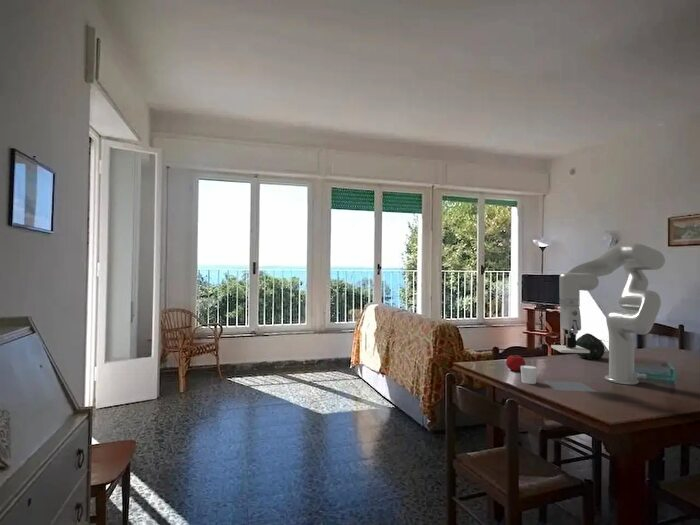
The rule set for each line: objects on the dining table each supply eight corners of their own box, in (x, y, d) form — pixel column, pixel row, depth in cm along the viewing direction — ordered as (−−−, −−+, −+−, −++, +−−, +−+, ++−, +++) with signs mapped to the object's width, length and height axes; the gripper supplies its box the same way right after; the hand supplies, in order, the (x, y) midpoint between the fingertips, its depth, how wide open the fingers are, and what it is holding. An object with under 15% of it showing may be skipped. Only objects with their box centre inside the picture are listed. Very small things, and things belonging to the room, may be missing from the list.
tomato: (515, 367, 208) (515, 351, 208) (529, 371, 200) (529, 355, 200) (501, 369, 204) (502, 352, 205) (516, 373, 196) (516, 356, 197)
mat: (581, 383, 180) (581, 382, 180) (597, 392, 166) (597, 391, 166) (543, 381, 182) (543, 380, 182) (555, 391, 168) (555, 390, 168)
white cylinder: (539, 385, 175) (539, 369, 176) (521, 384, 177) (522, 368, 177) (535, 381, 182) (535, 365, 182) (518, 380, 184) (518, 364, 184)
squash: (597, 346, 242) (581, 326, 242) (615, 352, 227) (598, 331, 227) (579, 362, 242) (563, 342, 241) (595, 369, 227) (578, 348, 226)
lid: (577, 347, 179) (577, 332, 179) (589, 353, 168) (589, 337, 168) (551, 347, 180) (551, 332, 181) (561, 352, 170) (561, 336, 170)
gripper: (587, 304, 166) (588, 350, 166) (570, 301, 182) (570, 343, 182) (568, 304, 167) (568, 350, 167) (552, 301, 183) (553, 342, 183)
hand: (569, 346), depth 174 cm, fingers closed on lid, 2 cm apart
